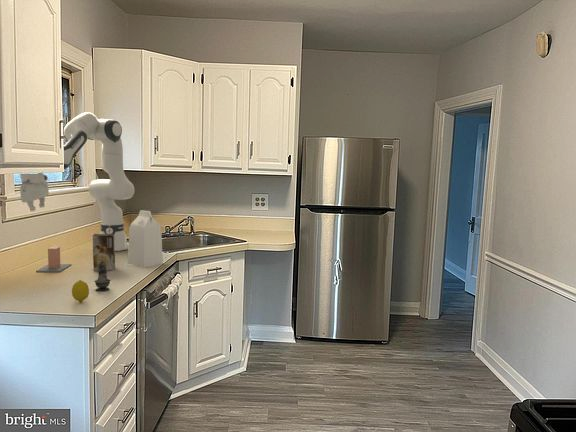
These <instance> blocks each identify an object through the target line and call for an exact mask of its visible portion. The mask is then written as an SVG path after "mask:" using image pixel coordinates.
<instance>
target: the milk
mask: <svg viewBox="0 0 576 432" xmlns="http://www.w3.org/2000/svg"><path fill="white" fill-rule="evenodd" d="M161 226H162V225H160V223H159V222H158V221H157V220H156V219H155V218H154V217H153V216H152V212H151V211H150V210H143V209H142V210H139V213H138V216H137V217H136V218H134V220H133V221H132V222H131V224H130V225H129V229H128V243H129V246H128V249H127V251H128V252H127V265H132V266H137V267H141V268H147V267H153V266H156V265H157V266H158V265H162V264H164V260H163V259H164V258H163V256H164V255H163V242H162V241H163V240H162V227H161Z"/></svg>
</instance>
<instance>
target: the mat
mask: <svg viewBox="0 0 576 432" xmlns="http://www.w3.org/2000/svg"><path fill="white" fill-rule="evenodd" d="M71 266H72V263H60V267H58V268H48V264H47V265H44V266H43V267H41V268H39V269H36V272H35V273H61V272H63V271H65V270H67V269H68V268H69V267H71Z"/></svg>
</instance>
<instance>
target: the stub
mask: <svg viewBox="0 0 576 432" xmlns="http://www.w3.org/2000/svg"><path fill="white" fill-rule="evenodd" d="M47 263H48V264H47V265H48V268H58V267H60V264H61V247H60V246H50V247H48V248H47Z"/></svg>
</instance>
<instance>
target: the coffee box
mask: <svg viewBox="0 0 576 432" xmlns="http://www.w3.org/2000/svg"><path fill="white" fill-rule="evenodd" d="M92 258H93V260H92V261H93V263H92V264H93V265H92V266H93V271H95V272H96V271H99V270H98V264H99V263H100V262H101V260H103V261H104V262H105V263H106V270H107V271H115V269H116V251H115V237H114V234H99V233H94V234H93V235H92Z"/></svg>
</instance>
